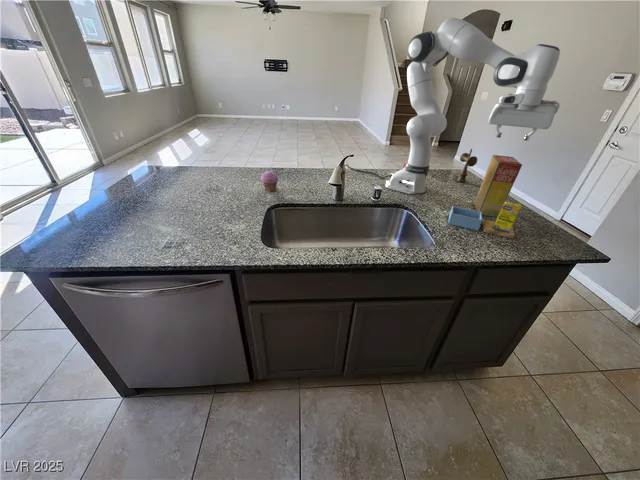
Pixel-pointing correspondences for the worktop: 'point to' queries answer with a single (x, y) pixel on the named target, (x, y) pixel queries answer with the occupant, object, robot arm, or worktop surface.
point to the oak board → (489, 229)
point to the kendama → (466, 165)
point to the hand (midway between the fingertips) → (511, 138)
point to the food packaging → (497, 185)
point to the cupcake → (269, 180)
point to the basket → (465, 218)
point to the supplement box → (507, 216)
